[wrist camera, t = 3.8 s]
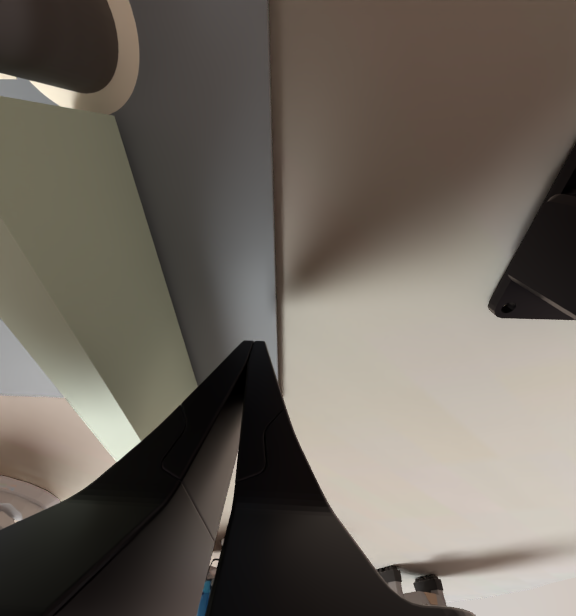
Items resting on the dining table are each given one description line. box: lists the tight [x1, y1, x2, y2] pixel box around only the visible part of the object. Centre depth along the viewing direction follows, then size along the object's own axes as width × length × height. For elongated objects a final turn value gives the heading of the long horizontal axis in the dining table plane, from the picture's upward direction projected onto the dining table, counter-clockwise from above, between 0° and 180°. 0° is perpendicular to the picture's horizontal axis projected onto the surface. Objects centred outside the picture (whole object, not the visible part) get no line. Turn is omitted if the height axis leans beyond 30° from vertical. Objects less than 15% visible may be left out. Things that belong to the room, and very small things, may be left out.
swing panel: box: [0, 96, 198, 462], centre depth 9 cm, size 2×13×4 cm, turn 0°
